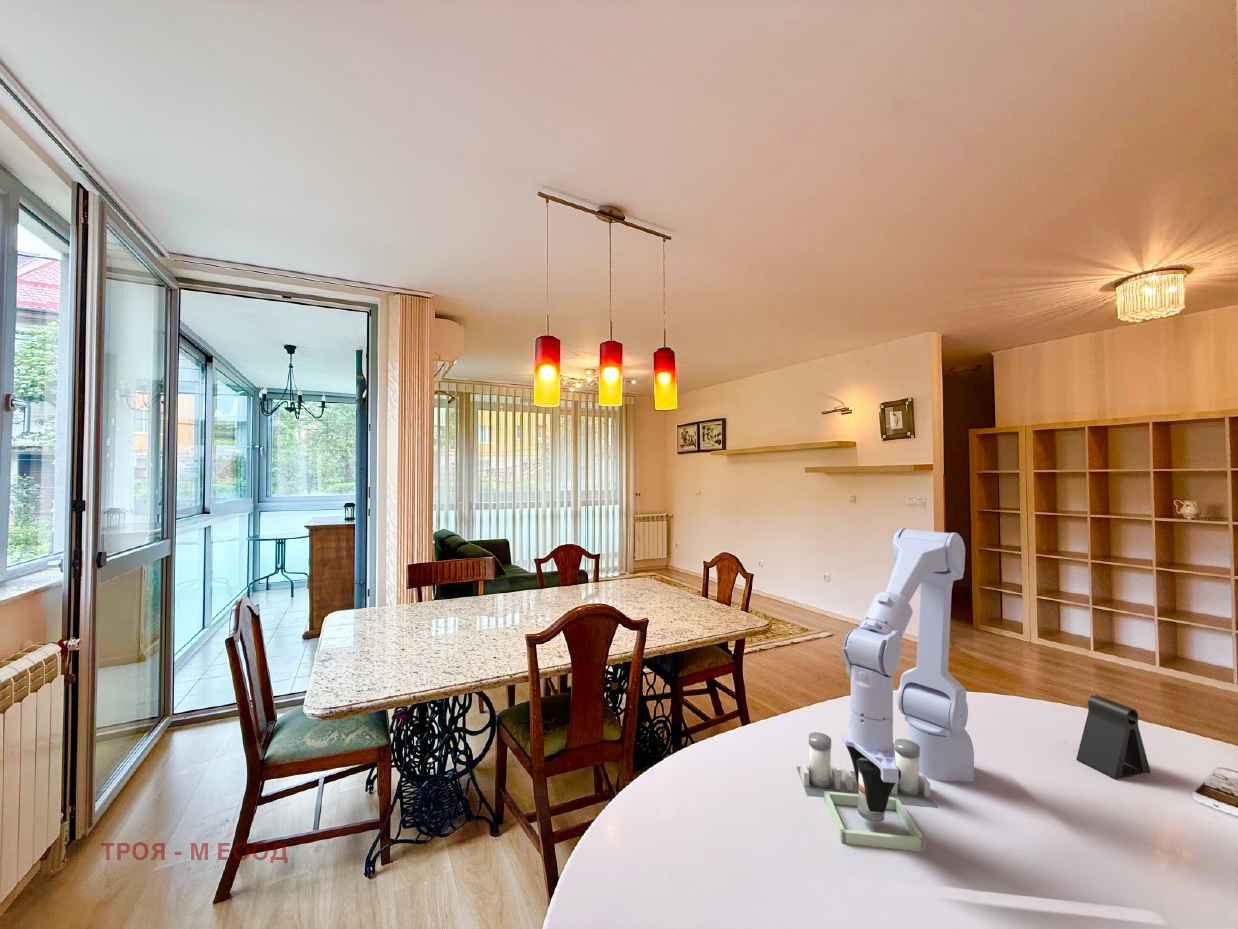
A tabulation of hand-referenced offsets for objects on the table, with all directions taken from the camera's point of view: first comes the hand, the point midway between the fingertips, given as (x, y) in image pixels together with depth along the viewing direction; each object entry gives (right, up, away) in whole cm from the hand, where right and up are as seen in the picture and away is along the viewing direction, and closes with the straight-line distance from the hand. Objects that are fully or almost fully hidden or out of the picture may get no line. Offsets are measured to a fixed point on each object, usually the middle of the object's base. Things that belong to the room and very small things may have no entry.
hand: (871, 801), depth 75 cm
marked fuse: (0, -2, 0) cm, 2 cm away
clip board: (+3, -5, +9) cm, 11 cm away
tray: (0, -5, 0) cm, 5 cm away
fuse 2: (+10, -4, +8) cm, 14 cm away
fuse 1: (-4, -4, +10) cm, 11 cm away
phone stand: (+54, -6, +17) cm, 57 cm away
